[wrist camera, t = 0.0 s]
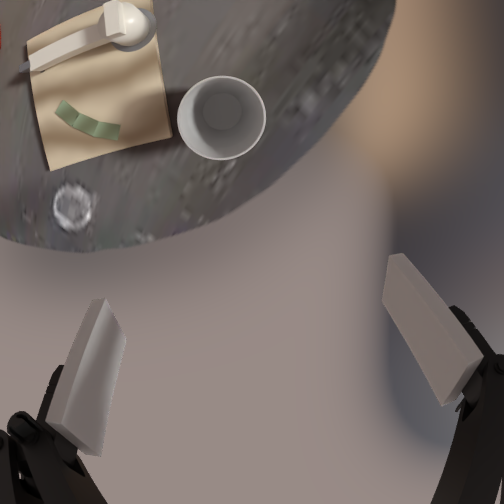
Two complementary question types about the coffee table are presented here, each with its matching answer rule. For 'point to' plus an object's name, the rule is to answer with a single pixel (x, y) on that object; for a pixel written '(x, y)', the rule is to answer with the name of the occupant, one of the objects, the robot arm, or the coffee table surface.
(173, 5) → the coffee table surface
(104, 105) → the board
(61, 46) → the lever
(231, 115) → the cup
